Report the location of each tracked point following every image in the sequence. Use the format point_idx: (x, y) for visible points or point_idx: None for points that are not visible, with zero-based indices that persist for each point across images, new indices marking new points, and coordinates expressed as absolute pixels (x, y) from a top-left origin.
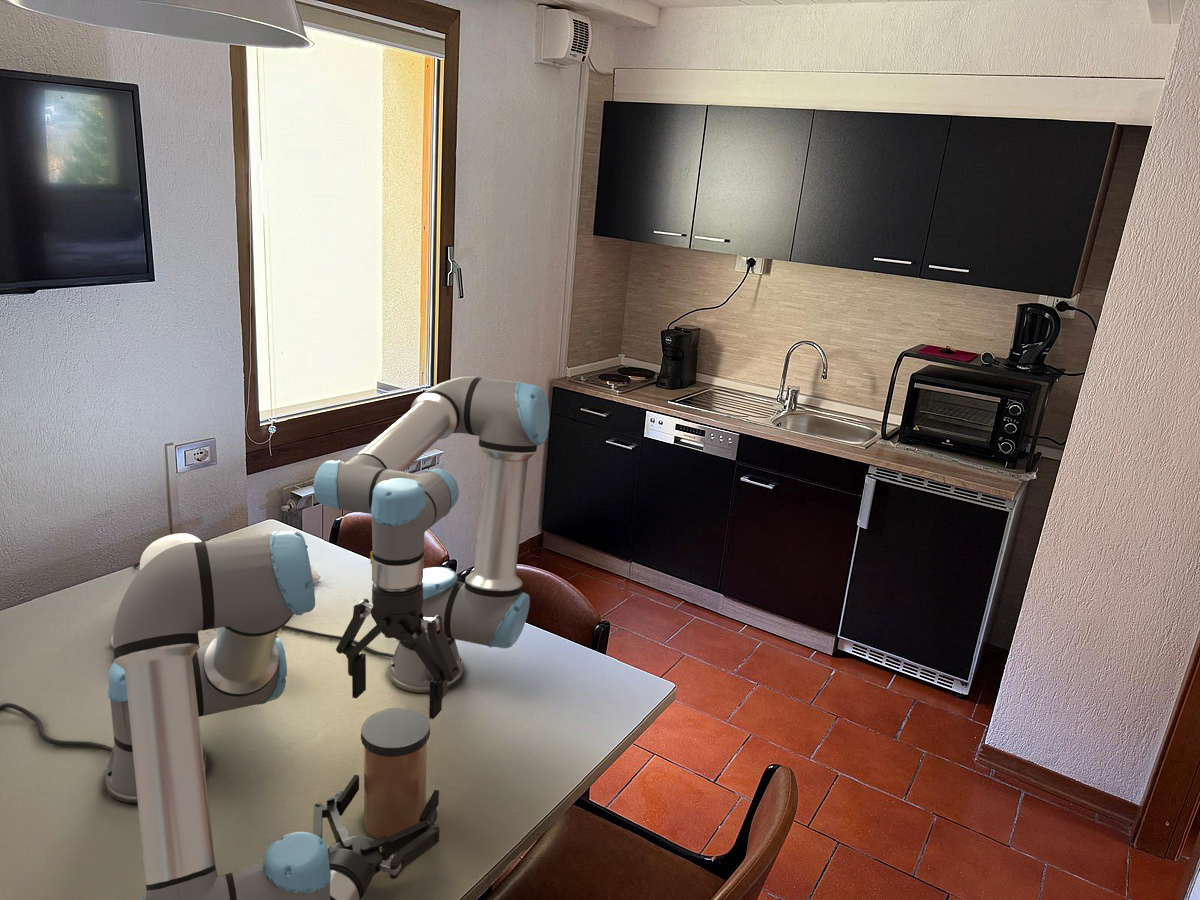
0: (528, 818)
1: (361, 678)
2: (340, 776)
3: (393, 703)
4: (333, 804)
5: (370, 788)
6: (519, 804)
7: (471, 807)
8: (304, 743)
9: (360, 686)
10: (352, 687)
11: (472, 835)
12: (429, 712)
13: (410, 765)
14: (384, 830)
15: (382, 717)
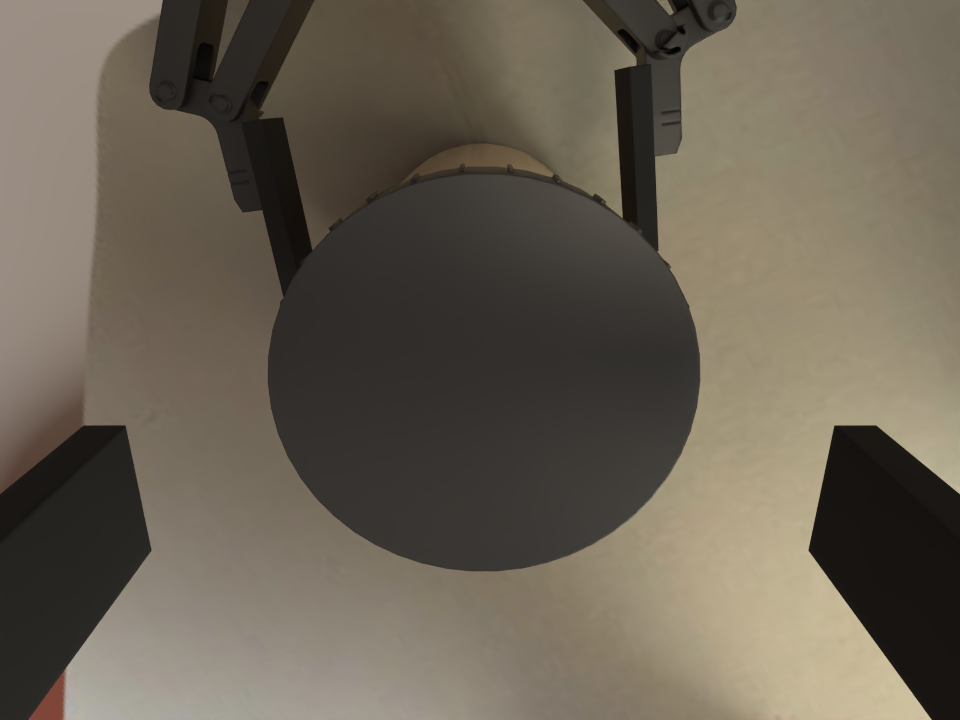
0: (105, 407)
1: (908, 596)
2: (752, 355)
3: (746, 687)
4: (654, 44)
5: (534, 168)
6: (163, 449)
7: None
8: (941, 444)
9: (866, 529)
10: (938, 479)
11: (216, 278)
12: (89, 452)
13: None
14: (461, 147)
15: (611, 443)
